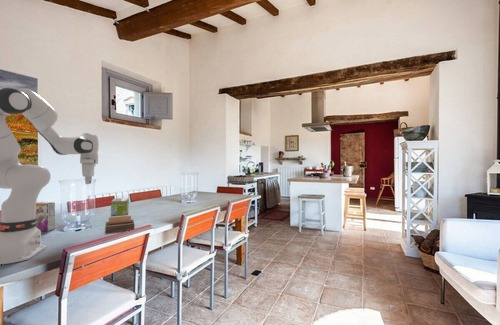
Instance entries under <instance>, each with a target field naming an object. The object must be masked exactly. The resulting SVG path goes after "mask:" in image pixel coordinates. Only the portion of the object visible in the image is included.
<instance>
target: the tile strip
mask: <svg viewBox="0 0 500 325" xmlns="http://www.w3.org/2000/svg"><path fill="white" fill-rule="evenodd" d="M131 220H132V214H128V215H123V216H112V217H111V216H108V222H109V224H111V223H121V222H131Z"/></svg>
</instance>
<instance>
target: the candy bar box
mask: <svg viewBox="0 0 500 325" xmlns="http://www.w3.org/2000/svg"><path fill="white" fill-rule="evenodd" d="M55 206H56V203H55V201H52V202H51V201H36V215H35V218H37V226H36V227H37V228H38V229H39V230H41V232H51V231H53V230H55V226H56V222H55V221H56V218H55V216H56V215H55V214H56V210H55V209H56V207H55Z"/></svg>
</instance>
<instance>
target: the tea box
mask: <svg viewBox="0 0 500 325" xmlns="http://www.w3.org/2000/svg"><path fill="white" fill-rule="evenodd" d="M129 201H130V199H129V198H128V197H125V198H124V197H121V198H113V199H112V200H111V202H110V217H112V216H123V215H129V203H130V202H129Z"/></svg>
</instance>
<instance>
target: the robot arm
mask: <svg viewBox="0 0 500 325" xmlns="http://www.w3.org/2000/svg"><path fill="white" fill-rule="evenodd" d="M20 114H21V115H22V116H24V117H25V118H26V119H27V120H29V121H30V123H31V125H32V127H33V128H34V130H36V131H37V133H38V134H39V135H40V136H41V137H42V138H43V139H44V140H46V141H47V143H48V144H50V145H49V146H51V149H52V150H53V152H54V153H56V154H57V155H60V156H62V155H63V156H65V155H80V157H79V158H80V159H79V161H80V162H79V163H80V164H81V172H82V173H81V174H82V177H84V181H85V182H84V183H85V184H84V185H89V184H90V185H91V184H92V179H93V177H94V176H95V167H96V165H98V164H99V154H98V153H99V146H100V145H99V137H98V136H97V135H96V134H93V133H90V132H83V133H82V134H81V135H78V136H71V137H70V136H69V137H68V136H67V137H66V136H62V135H59V133H58V132H57V131H56V130H55V129H54V127H52V126H54V125H55V124H56V122H57V121H58V118H59V117H58V112H57V111H56V110H55V108H53V106H51V105H50V103H49V102H47V101H46V100H45V99H44V98H43V97H41V96H40V95H39V94H37V92H34V91H33V90H31V89H30V88H19V89H16V88H13V87H0V189H5V190H7V189H8V190H9V189H10V190H11V191H10V194H9V196H8V198H7V199H5V200H4V201H3V202H2V204H1V205H0V206H1V208H0V212H1V213H0V266H1V264H2V265H7V264H14V263H19V262H23V261H27V260H30V259H31V258H33V257H34V256H36V255H38V254H39V253H40V252H42V251H43V250H45V249H46V248H47V246H46V245H44V244H42V231H41V230H39V229H38V228H37V227H36V226H37V218H35V215H36V202H38V197H39V194H40V193H41V191H42V190H43V188H44V187H46V186H47V185H48V184H49V183H50V181H51V172H50V170H49V169H48V168H46V167H45V166H41V165H37V164H22V163H21V162H20V160H19V154H20V153H21V151H22V148H21V146H20V144H19V143H18V142H19V141H18V140H17V138H16V137H15V135H14V133H13V132H12V130H11V128H10V127H9V126H8V124H7V121H6V116H9V115H12V116H13V115H20Z"/></svg>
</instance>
